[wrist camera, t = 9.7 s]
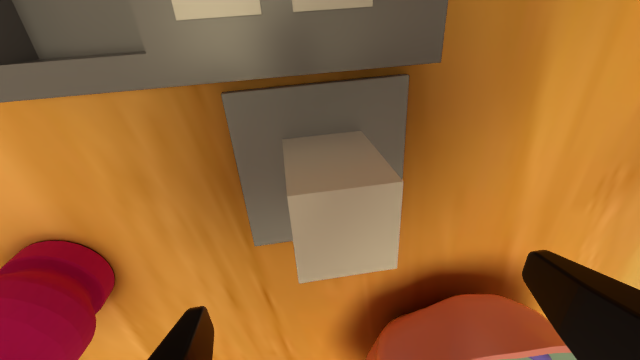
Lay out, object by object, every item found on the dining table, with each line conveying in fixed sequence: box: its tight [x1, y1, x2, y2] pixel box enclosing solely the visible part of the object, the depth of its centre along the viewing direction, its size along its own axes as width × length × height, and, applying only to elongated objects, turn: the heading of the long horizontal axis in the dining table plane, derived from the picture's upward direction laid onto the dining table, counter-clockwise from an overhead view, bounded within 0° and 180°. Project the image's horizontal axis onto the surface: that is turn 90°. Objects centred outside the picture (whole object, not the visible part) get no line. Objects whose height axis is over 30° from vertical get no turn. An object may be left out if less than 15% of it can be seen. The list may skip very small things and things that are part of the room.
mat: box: [221, 74, 409, 246], centre depth 20 cm, size 11×11×1 cm
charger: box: [282, 131, 403, 283], centre depth 17 cm, size 5×5×7 cm
